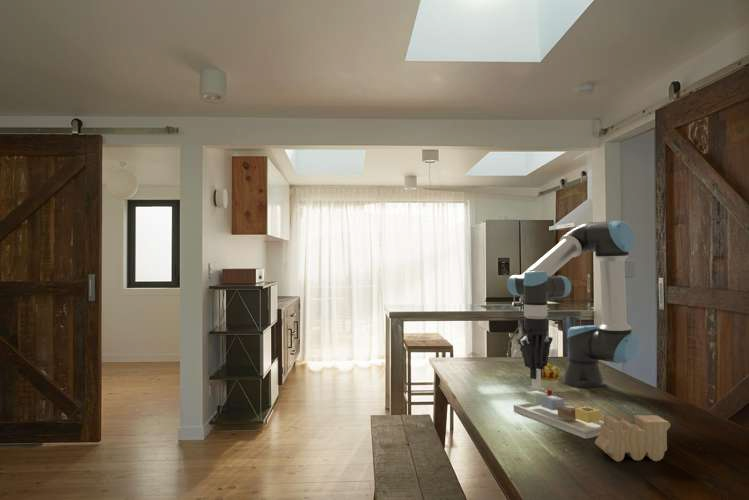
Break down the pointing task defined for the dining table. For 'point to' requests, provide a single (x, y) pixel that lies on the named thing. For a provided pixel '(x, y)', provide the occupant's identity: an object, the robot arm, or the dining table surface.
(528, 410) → the base
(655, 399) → the dining table surface
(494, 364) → the dining table surface
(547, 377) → the toy
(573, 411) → the key
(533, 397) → the key
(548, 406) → the blue square block
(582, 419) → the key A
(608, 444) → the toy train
